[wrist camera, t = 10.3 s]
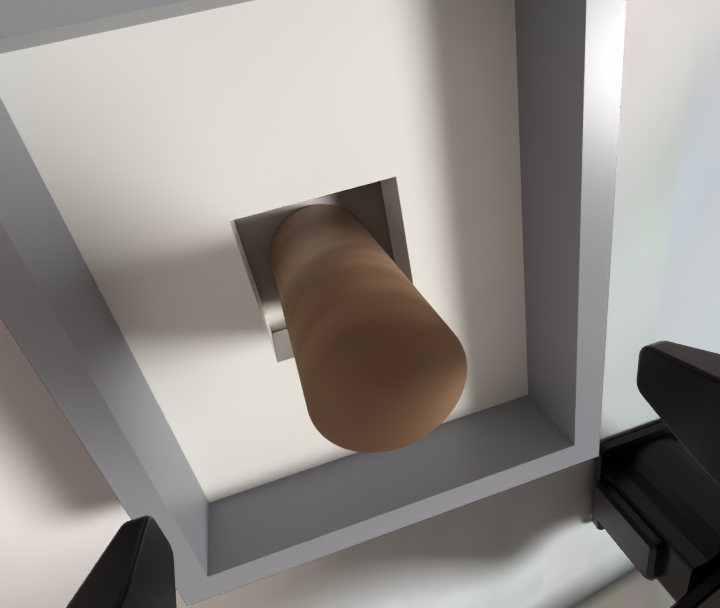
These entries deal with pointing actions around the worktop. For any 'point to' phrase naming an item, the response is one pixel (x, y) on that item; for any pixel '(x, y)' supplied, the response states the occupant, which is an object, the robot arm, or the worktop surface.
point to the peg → (362, 335)
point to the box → (289, 186)
